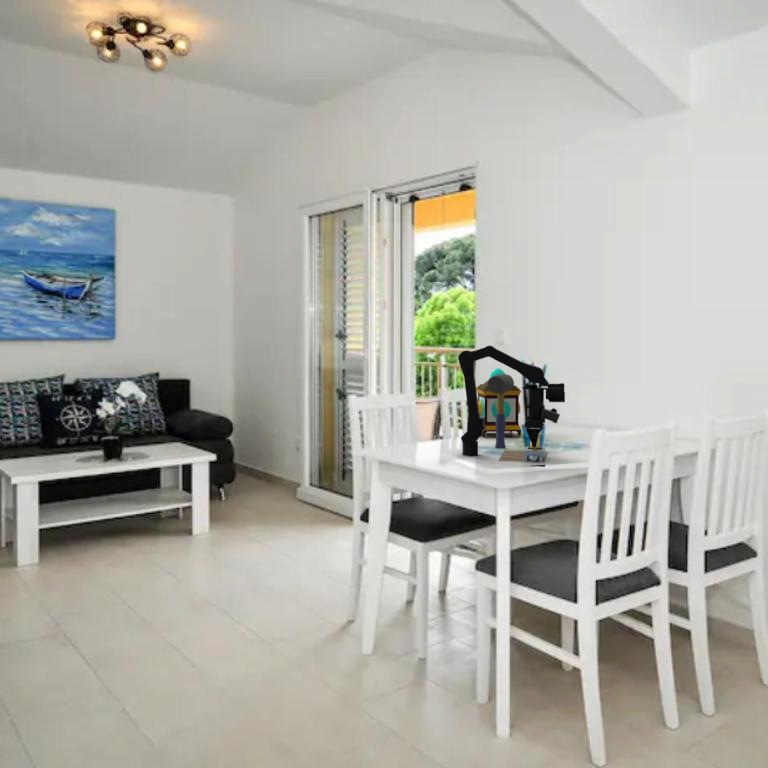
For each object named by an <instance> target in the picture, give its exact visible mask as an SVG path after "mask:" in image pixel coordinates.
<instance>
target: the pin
mask: <svg viewBox="0 0 768 768" xmlns="http://www.w3.org/2000/svg"><path fill="white" fill-rule="evenodd" d="M541 435H542V430H541V431H540V432H539V434H538V439H537V444H536V447H533V446H532V444H531V443H530V446H529V447H530V449H539V450H540V447H541V446H540V445H541V444H540V439H541V437H540V436H541Z"/></svg>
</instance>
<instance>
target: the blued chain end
mask: <svg viewBox="0 0 768 768" xmlns="http://www.w3.org/2000/svg"><path fill="white" fill-rule="evenodd" d="M545 450H546V446H540V450H539V449H530V446H525V448H523V451H524V462H523V463H528V462H527V460H528V459H529V461H530V462H529V463H538V462H537V460H540V462H542V460H544V457H545Z"/></svg>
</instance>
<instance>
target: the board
mask: <svg viewBox="0 0 768 768" xmlns="http://www.w3.org/2000/svg"><path fill="white" fill-rule="evenodd" d="M547 456H548V451H546V455H545V458H544V460H542V462H540V460H537V462H536V463H538V464H537V465H535V464H534V465H532V467H534V466H545V467H546V464H543V463H546V460H547ZM497 461H498V462H516V463H517V462H518V463H525V462H524V450H510V449H509V450H507V449H505V450H503V452H502V453H501V455H500V457H499V458H498V460H497ZM526 463H531V462H530V461H529V459H528V460H527V462H526ZM539 463H542V464H539Z"/></svg>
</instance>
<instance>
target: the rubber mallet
mask: <svg viewBox="0 0 768 768" xmlns="http://www.w3.org/2000/svg"><path fill="white" fill-rule="evenodd" d="M487 381H488V384H487V385H488V389H489V390H490V391H491V392H492V393H495V394H498V407H497V416H496V432H495V433H496V434H495V445H494V448H495V449H506V440H505V439H506V437H505V435H506V432H505V415H504V393H506V392H508V391H510V390H511V389H512V388H513V386H514V385H515V381H514V379H513V377H512V376H511V375H510V374H506V373H505V374H498V375H495V376H493V377H491V378H490V377H489V378H488V380H487Z"/></svg>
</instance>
